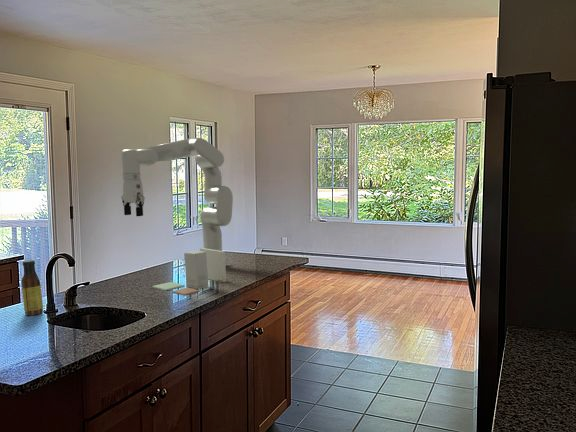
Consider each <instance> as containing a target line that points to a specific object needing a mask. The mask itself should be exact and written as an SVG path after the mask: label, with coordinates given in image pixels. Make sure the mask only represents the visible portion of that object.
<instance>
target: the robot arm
mask: <svg viewBox="0 0 576 432" xmlns="http://www.w3.org/2000/svg"><path fill="white" fill-rule="evenodd" d="M193 156H195V157H194V159H195V163H196V164H197V166H198V167H199V168H200V169H201V170H202V172H203V174H204V191H203V192H204V194H203V197H204V198H203V199H204V202H206V203H208V204H212V205H216V206H206V207H204V208H203V209H202V210H201V212H200V218H199V219H200V222H201V227H202V237H203V238H202V240H203V241H202V243H203V244H202V246H203V247H202V248H206V249H212V250H219V251H223V239H222V238H223V236H222V235H223V234H222V229H221V227H226V226H228V225H229V224H230V223H231V221H232V217H233V200H234V199H233V197H234V196H233V192H232V190H231V189H230V188H229V186H226V185H223V183H222V182H223V181H222V172H221V169H220V167H221V166H222V165H224V162H225V158H224V157H225V156H224V154H223V152H221V151H220V150H219V149H218V148H217V147H215V146H214V145H213V144H211V143H210V142H209V141H207V140H206V139H204V138H202V137H193V138H191V137H190V138H185V139H180V140H175V141H171V142H166V143H162V144H157V145H153V146H147V147H142V148H138V149H137V148H136V149H123V150H122V151H121V166H122V167H121V169H122V181H123V184H122V196H121V201H122V205H123V206H122V207H123V214H124V216H131V215H132V208H131V207H132V206H131V204H135V206H136V207H135V215H136V217H143V216H144V204H145V200H146V199H145V198H146V197H145V195H144V187H143V182H142V180H141V179H142V178H141V167H144V166H146V167H147V166H149V167H150V166H153V165H155V164H157V162H171V161H177V160H180V159H184V158H189V157H193ZM226 262H230V258H229V257H225V263H226Z"/></svg>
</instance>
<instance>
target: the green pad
mask: <svg viewBox="0 0 576 432" xmlns="http://www.w3.org/2000/svg"><path fill="white" fill-rule="evenodd" d="M151 287H152V288H153V289H156V290H162V291H164V292H165V291H171V290H174V289H178V288H185V284H183V283H182V284H181V283H177V282H173V281H170V282H169V281H168V282H165V283H160V284H156V285H152V286H151Z"/></svg>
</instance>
